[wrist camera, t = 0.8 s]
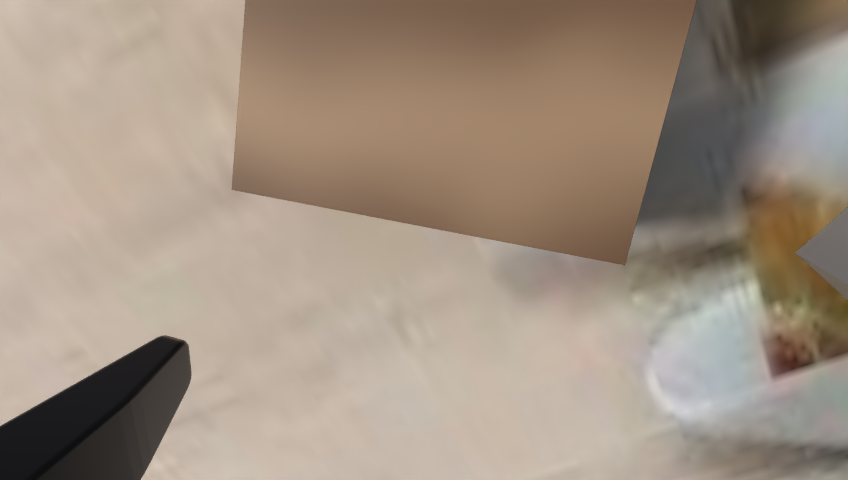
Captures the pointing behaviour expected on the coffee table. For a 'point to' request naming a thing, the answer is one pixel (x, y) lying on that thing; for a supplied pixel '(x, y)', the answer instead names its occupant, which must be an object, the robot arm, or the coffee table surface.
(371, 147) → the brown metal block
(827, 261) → the storage box
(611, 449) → the coffee table surface
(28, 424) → the robot arm
